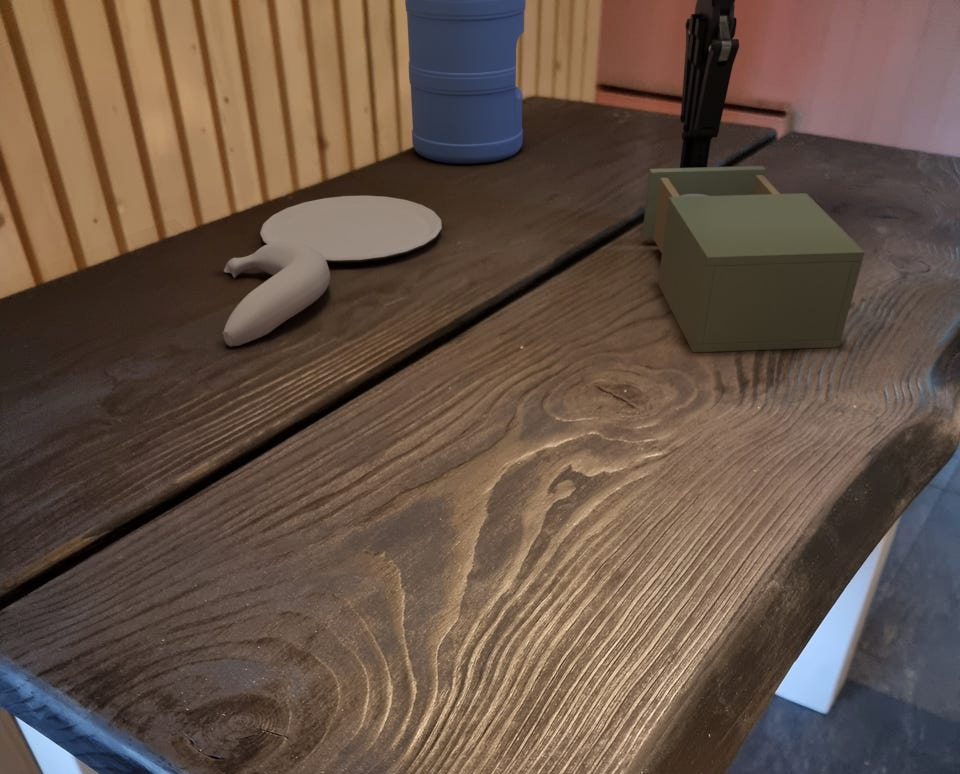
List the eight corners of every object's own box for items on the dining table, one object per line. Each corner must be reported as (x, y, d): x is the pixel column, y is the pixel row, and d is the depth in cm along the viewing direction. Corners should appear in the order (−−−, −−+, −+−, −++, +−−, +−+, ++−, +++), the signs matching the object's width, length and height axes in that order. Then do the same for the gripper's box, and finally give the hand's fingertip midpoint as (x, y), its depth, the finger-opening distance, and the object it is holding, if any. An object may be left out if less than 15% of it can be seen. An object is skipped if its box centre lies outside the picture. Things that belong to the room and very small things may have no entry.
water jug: (463, 173, 123) (458, -93, 104) (390, 149, 132) (373, -101, 113) (545, 150, 131) (554, -102, 112) (471, 128, 140) (468, -109, 121)
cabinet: (657, 285, 95) (668, 197, 90) (787, 280, 96) (806, 193, 90) (692, 352, 84) (707, 256, 78) (839, 347, 84) (865, 251, 79)
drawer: (635, 220, 107) (641, 157, 102) (740, 217, 107) (752, 154, 103) (669, 284, 93) (678, 214, 88) (790, 281, 94) (805, 210, 89)
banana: (274, 355, 84) (137, 335, 88) (360, 286, 98) (239, 271, 101) (266, 302, 81) (124, 283, 84) (357, 238, 95) (231, 224, 98)
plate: (313, 198, 117) (311, 187, 116) (467, 215, 111) (467, 204, 110) (227, 256, 102) (224, 245, 101) (400, 279, 97) (399, 267, 96)
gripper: (671, -62, 95) (646, 182, 111) (700, -46, 86) (668, 219, 102) (743, -64, 96) (707, 180, 112) (780, -48, 86) (735, 217, 102)
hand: (688, 198), depth 107 cm, fingers closed
